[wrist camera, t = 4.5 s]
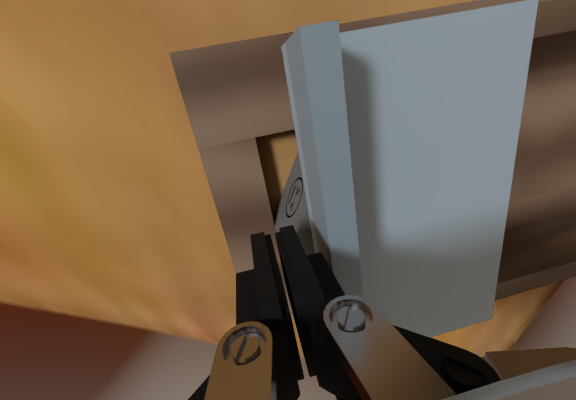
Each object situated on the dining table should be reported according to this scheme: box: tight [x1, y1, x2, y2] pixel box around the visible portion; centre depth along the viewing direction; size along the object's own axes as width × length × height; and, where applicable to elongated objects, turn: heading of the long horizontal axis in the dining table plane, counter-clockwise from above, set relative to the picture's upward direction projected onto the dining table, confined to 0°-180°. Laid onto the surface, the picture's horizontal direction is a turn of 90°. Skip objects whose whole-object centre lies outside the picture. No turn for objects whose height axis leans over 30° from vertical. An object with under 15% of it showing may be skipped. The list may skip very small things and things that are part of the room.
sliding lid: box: [281, 0, 539, 337], centre depth 11 cm, size 15×9×3 cm, turn 10°
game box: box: [169, 0, 576, 315], centre depth 15 cm, size 17×27×5 cm, turn 100°
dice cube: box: [273, 152, 315, 255], centre depth 15 cm, size 5×5×5 cm
